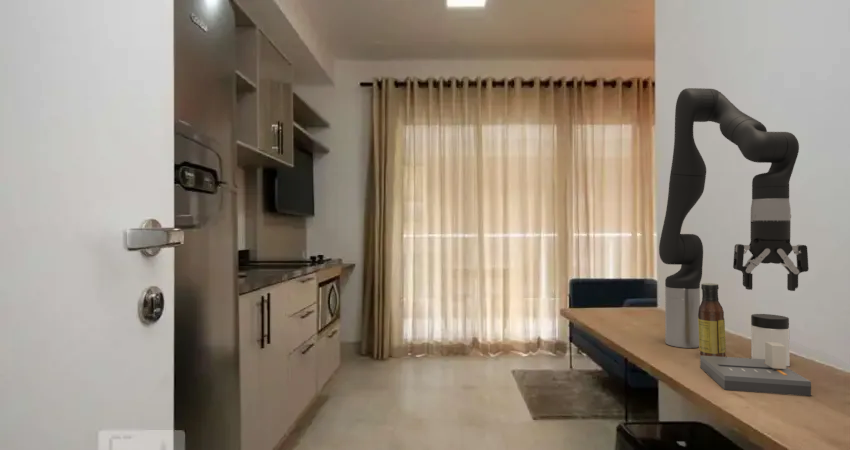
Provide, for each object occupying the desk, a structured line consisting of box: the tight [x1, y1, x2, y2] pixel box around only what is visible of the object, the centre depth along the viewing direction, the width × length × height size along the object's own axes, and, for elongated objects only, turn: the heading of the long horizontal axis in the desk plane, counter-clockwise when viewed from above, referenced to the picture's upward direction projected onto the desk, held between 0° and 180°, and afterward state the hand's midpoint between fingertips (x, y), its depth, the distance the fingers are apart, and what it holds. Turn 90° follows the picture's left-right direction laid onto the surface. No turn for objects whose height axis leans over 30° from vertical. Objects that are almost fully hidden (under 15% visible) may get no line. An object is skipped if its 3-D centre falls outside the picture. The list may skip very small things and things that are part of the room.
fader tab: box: [765, 342, 787, 370], centre depth 112 cm, size 4×3×6 cm, turn 166°
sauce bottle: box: [698, 282, 727, 357], centre depth 134 cm, size 7×6×20 cm
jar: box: [750, 313, 791, 368], centre depth 129 cm, size 9×8×12 cm
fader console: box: [699, 354, 812, 397], centre depth 113 cm, size 18×16×3 cm
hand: (769, 289), depth 114 cm, fingers open, 8 cm apart
